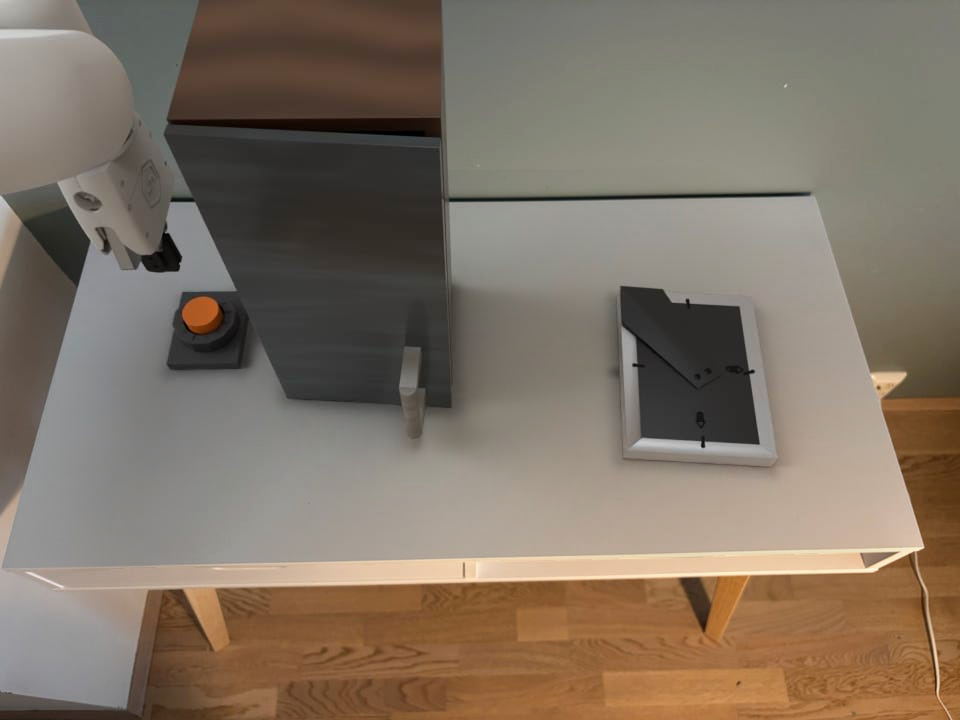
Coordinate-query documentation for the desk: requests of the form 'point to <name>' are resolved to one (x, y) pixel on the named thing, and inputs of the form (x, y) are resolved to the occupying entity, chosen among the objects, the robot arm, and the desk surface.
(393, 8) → the cupboard
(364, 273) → the cupboard door
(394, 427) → the desk surface
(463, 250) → the desk surface
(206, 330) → the button
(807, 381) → the desk surface
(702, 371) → the picture frame
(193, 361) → the control block
